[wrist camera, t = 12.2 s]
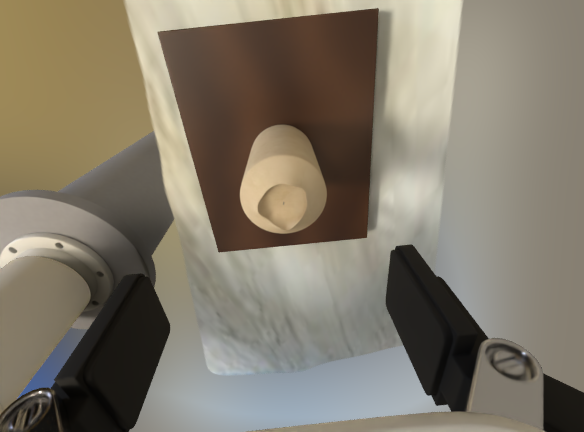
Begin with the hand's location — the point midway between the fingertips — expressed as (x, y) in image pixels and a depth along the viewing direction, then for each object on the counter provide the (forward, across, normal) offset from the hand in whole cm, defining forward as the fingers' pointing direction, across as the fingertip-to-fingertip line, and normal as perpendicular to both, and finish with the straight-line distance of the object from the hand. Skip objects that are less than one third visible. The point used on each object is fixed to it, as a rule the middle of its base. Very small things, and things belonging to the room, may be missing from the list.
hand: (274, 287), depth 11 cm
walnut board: (+18, -1, 0) cm, 18 cm away
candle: (+17, -1, 0) cm, 17 cm away
